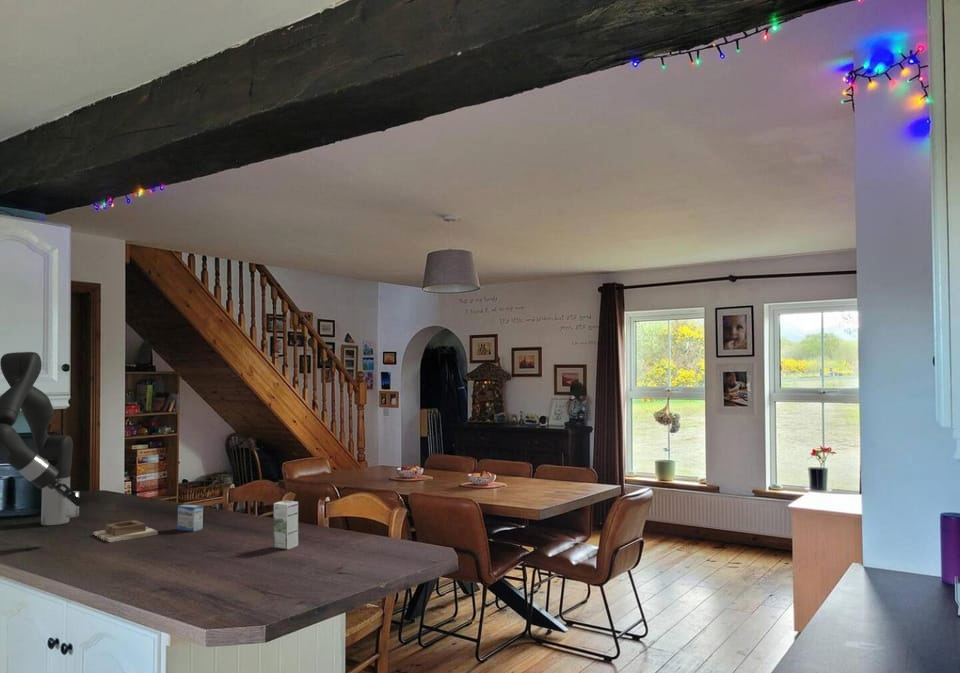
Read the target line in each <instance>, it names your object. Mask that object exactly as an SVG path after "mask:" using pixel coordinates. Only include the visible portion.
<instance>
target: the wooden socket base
mask: <svg viewBox="0 0 960 673" xmlns="http://www.w3.org/2000/svg"><path fill="white" fill-rule="evenodd" d="M158 534H159V532H158V530H156V529H154V528H151V527H148V526H147V524H146V523H144V522H142V521H139V520H136V519H133V520H124V521H119V522H114V523H107V524H104V530H103V529H101V530H97V531H92V536H93V535H95V536H97V537H96V538H98V537H99V538H98V539H100V538H101V539H100V540H102V539H103V540H102V541H104V540H105V541H104V542H106V541H107V542H106V543H108V542H110V543H115V541H116V542H121V540H122V541H126V540H133V539H139V538H145V537H151V536H157V535H158ZM95 536H94V537H95Z"/></svg>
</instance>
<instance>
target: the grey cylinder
mask: <svg viewBox="0 0 960 673" xmlns="http://www.w3.org/2000/svg"><path fill="white" fill-rule="evenodd" d="M72 491H73V492H75V494H76V496H78V497H79V498H80V491H79V490H78V491H77V490H75V491H74V490H72ZM70 494H71V493H70V492H69V493H68V494H67V496H69V495H70ZM79 516H80V506H77V505H75V504H74V503H73V502H71V501H70V500H68V499H67V498H66V497H65V517H66V518H69V519H70V518H77V517H79Z"/></svg>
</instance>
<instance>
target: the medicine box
mask: <svg viewBox="0 0 960 673" xmlns="http://www.w3.org/2000/svg"><path fill="white" fill-rule="evenodd" d="M203 514H204V506H203V505H197V504H181V505H178V506H177V526H176V527H177V531H182V532H183V531H184V532H193V533H194V532H198V531H202V530H203V529H204V528H203V527H204V526H203V524H204V523H203V519H204V517H203V516H204V515H203Z"/></svg>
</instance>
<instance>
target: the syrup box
mask: <svg viewBox="0 0 960 673" xmlns="http://www.w3.org/2000/svg"><path fill="white" fill-rule="evenodd" d="M296 547H299V501H293V500H280V501H276V502H274V503H273V548H274V549H280V550H291V549H294V548H296Z"/></svg>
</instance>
